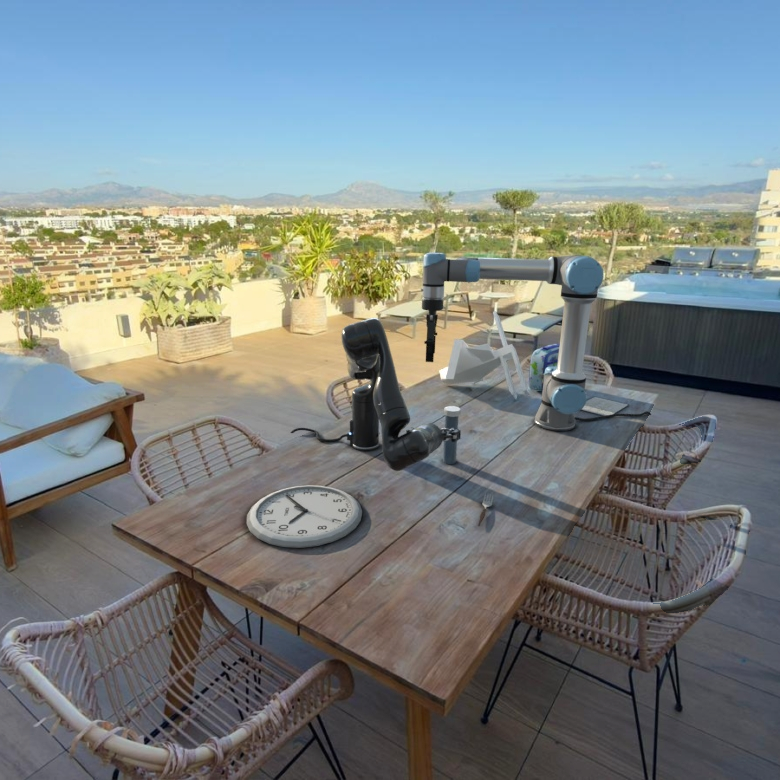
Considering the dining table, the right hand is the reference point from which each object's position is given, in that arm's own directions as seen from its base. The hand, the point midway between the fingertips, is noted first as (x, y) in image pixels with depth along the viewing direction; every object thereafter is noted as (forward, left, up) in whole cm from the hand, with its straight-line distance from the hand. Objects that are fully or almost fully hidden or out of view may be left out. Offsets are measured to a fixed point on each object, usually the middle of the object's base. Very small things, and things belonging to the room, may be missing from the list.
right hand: (430, 357), depth 190 cm
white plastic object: (-22, -50, -28) cm, 61 cm away
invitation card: (-73, -38, -28) cm, 87 cm away
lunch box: (-55, -62, -28) cm, 88 cm away
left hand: (-5, +45, -10) cm, 47 cm away
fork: (-18, +59, -28) cm, 68 cm away
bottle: (-9, +28, -28) cm, 40 cm away
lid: (-9, +28, -10) cm, 31 cm away
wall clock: (+29, +67, -28) cm, 78 cm away
